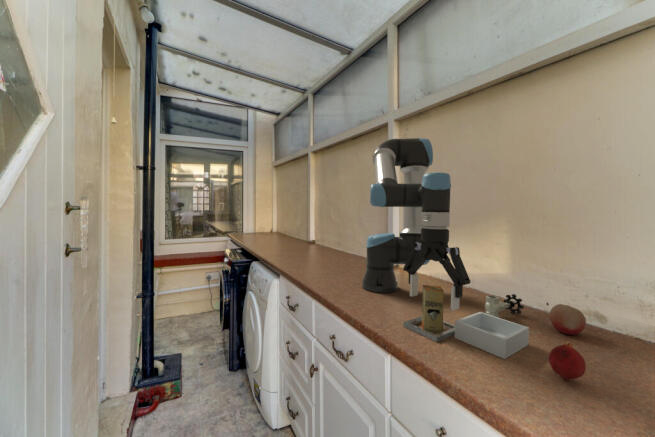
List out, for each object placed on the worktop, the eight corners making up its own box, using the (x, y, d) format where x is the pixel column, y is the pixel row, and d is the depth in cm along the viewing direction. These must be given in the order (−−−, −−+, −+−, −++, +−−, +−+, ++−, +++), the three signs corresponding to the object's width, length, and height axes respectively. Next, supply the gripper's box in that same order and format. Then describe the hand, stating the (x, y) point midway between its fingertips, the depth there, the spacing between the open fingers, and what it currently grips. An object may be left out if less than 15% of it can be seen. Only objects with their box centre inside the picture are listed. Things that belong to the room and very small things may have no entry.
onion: (574, 392, 55) (576, 351, 54) (541, 375, 60) (543, 338, 59) (590, 384, 57) (593, 345, 56) (557, 369, 62) (559, 333, 62)
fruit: (593, 338, 77) (595, 309, 77) (568, 340, 76) (570, 311, 75) (564, 325, 85) (565, 299, 85) (541, 327, 84) (542, 300, 83)
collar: (402, 326, 83) (403, 322, 83) (427, 318, 90) (427, 314, 89) (436, 342, 74) (436, 337, 74) (461, 331, 80) (461, 327, 80)
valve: (496, 321, 88) (523, 317, 91) (496, 301, 87) (524, 297, 91) (478, 314, 94) (505, 310, 98) (479, 294, 93) (505, 291, 97)
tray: (454, 337, 76) (455, 320, 76) (479, 326, 83) (480, 311, 83) (504, 359, 66) (505, 339, 66) (528, 344, 73) (529, 327, 73)
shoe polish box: (421, 324, 85) (422, 285, 84) (439, 326, 84) (440, 286, 83) (423, 331, 80) (425, 290, 79) (442, 333, 79) (443, 291, 78)
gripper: (392, 225, 88) (391, 292, 89) (470, 231, 68) (467, 318, 68) (409, 225, 93) (407, 289, 93) (486, 230, 72) (483, 312, 73)
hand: (432, 301), depth 81 cm, fingers open, 13 cm apart
